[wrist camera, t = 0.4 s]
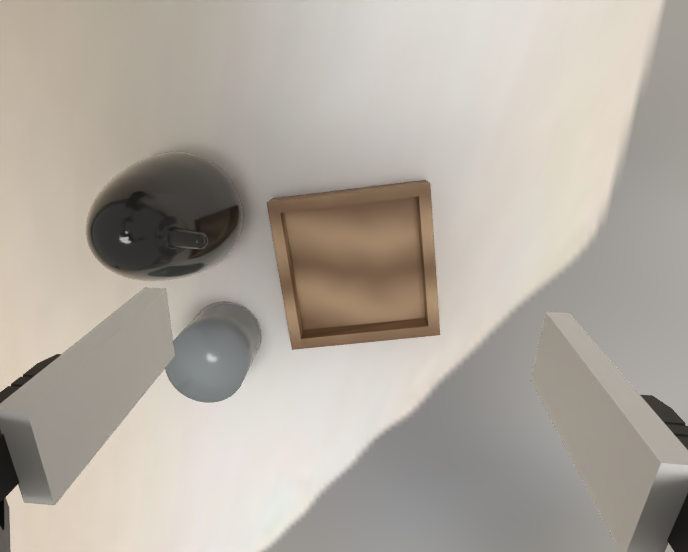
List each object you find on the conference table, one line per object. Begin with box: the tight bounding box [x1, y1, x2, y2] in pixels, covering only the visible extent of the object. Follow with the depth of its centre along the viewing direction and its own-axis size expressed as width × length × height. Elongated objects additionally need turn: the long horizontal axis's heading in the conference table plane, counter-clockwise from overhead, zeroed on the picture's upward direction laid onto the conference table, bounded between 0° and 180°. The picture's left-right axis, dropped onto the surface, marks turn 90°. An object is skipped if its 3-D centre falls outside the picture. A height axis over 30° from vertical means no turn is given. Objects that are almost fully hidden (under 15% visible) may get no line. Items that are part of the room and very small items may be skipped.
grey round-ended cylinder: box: [165, 302, 261, 402], centre depth 42 cm, size 7×7×7 cm
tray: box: [267, 180, 440, 350], centre depth 41 cm, size 14×14×3 cm
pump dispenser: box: [86, 152, 243, 281], centre depth 34 cm, size 10×10×15 cm
